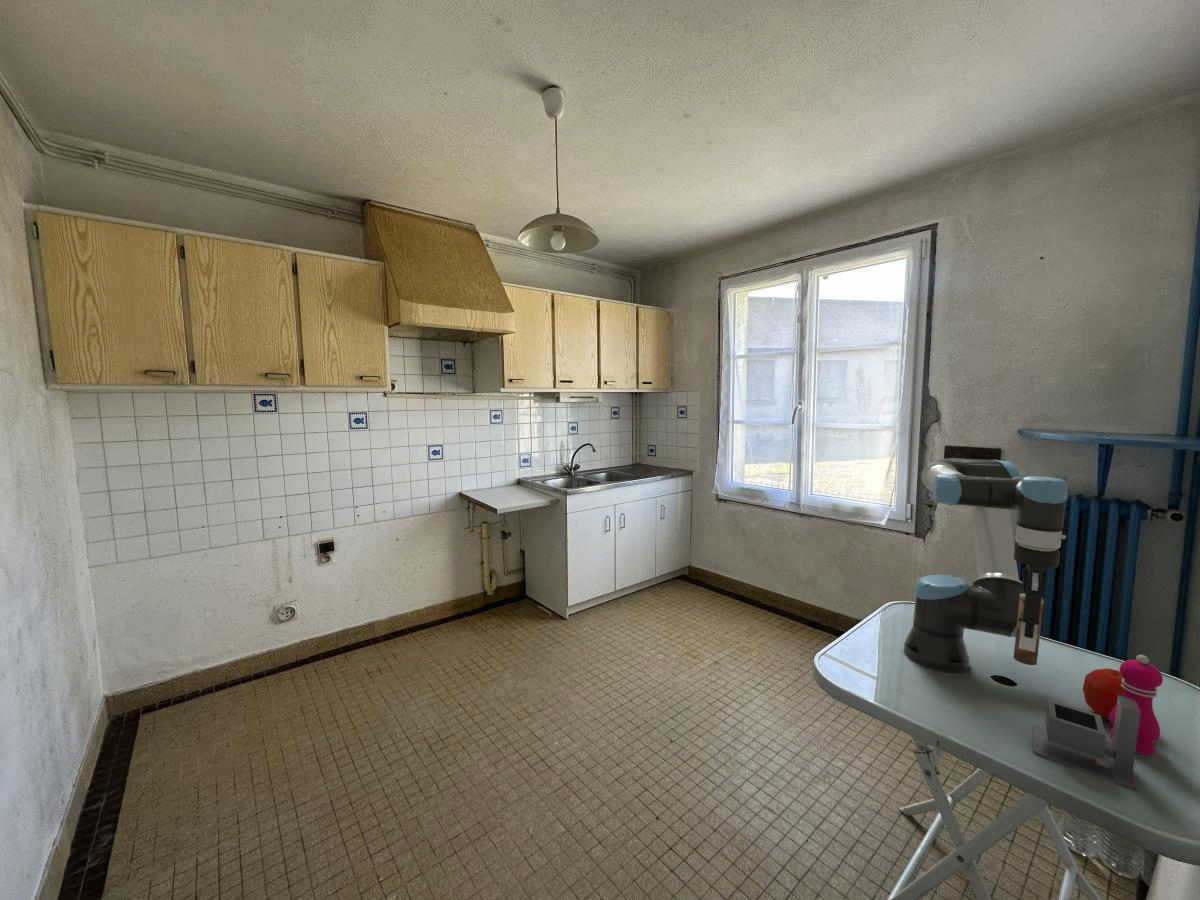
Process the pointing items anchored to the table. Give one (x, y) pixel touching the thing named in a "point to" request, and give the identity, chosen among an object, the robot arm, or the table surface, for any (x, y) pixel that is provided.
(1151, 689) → the pepper mill
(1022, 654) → the brown cylinder
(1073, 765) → the bracket
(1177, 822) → the table surface
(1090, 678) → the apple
